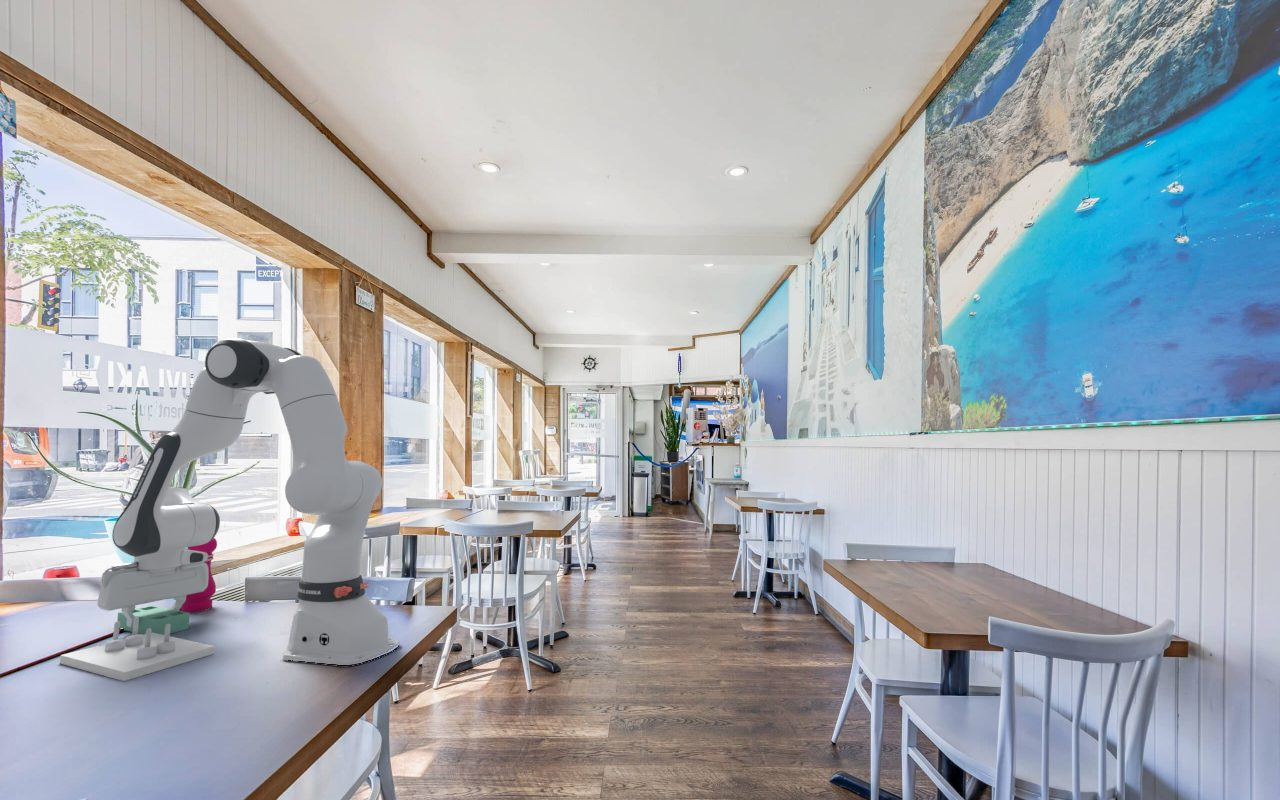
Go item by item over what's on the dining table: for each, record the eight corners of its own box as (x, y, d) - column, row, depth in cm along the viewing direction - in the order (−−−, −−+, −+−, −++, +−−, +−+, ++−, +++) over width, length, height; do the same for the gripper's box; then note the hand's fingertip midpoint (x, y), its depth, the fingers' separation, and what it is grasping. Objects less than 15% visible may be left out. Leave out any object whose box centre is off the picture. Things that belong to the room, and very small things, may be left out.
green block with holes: (188, 628, 129) (189, 612, 129) (155, 637, 122) (157, 620, 123) (149, 620, 134) (151, 605, 134) (116, 628, 127) (118, 612, 128)
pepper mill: (194, 614, 140) (202, 531, 141) (170, 611, 141) (178, 530, 143) (221, 606, 147) (228, 528, 149) (198, 604, 148) (205, 526, 150)
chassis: (213, 653, 114) (216, 618, 114) (123, 681, 100) (128, 641, 100) (151, 639, 121) (154, 606, 122) (59, 663, 107) (64, 626, 108)
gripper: (112, 568, 119) (105, 636, 117) (215, 552, 138) (209, 611, 136) (94, 565, 121) (87, 632, 120) (198, 550, 140) (192, 608, 139)
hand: (153, 620), depth 128 cm, fingers closed on green block with holes, 6 cm apart
